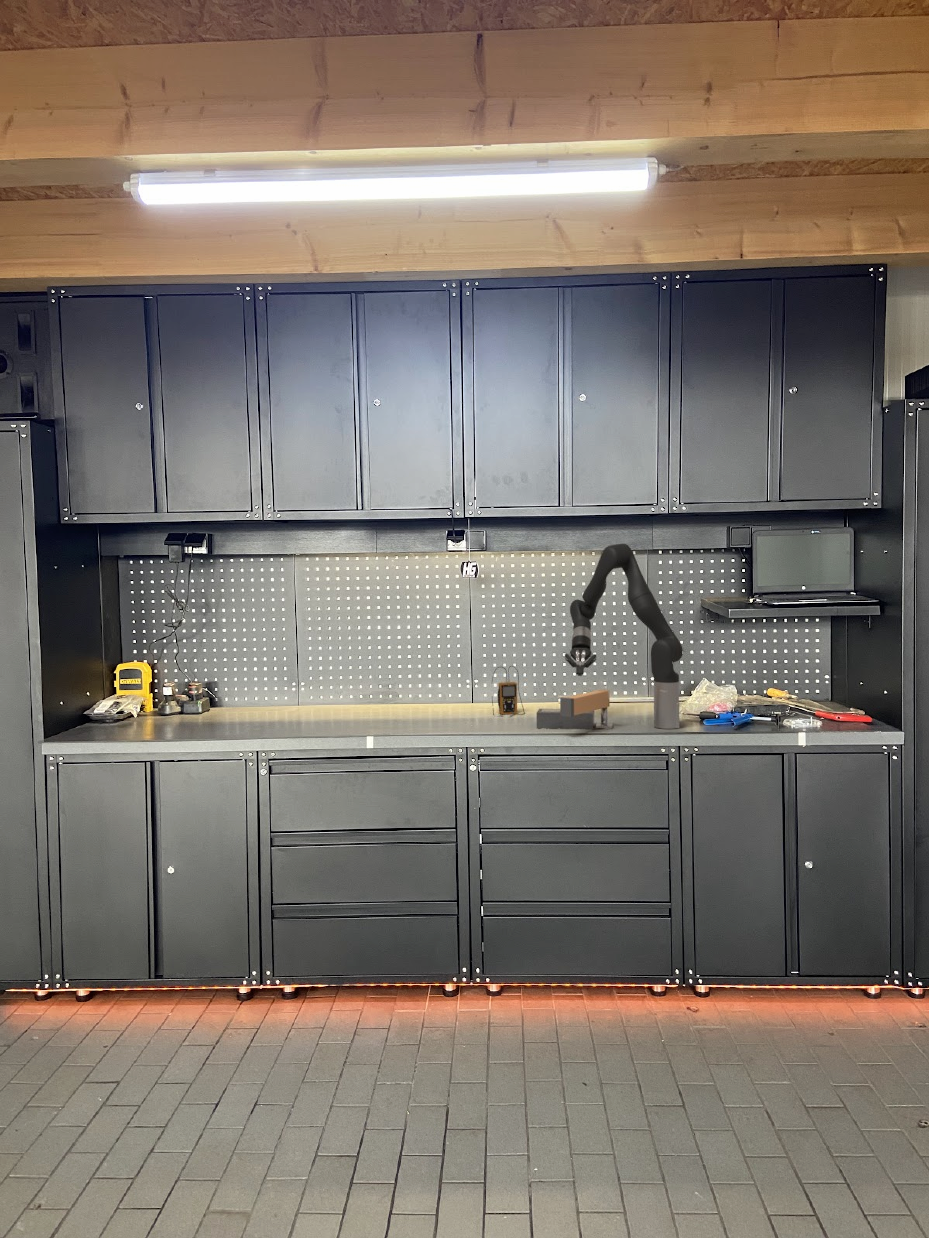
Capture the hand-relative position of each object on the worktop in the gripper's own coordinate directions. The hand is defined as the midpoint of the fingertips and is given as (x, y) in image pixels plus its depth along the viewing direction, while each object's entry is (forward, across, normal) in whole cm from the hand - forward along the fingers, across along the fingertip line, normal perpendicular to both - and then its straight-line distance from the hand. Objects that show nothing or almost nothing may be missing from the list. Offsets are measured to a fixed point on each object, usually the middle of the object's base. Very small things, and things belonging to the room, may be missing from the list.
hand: (579, 674), depth 356 cm
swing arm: (+22, +4, -7) cm, 24 cm away
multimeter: (+3, -29, +25) cm, 38 cm away
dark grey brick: (+20, -5, +6) cm, 22 cm away
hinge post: (+20, +10, +6) cm, 23 cm away
